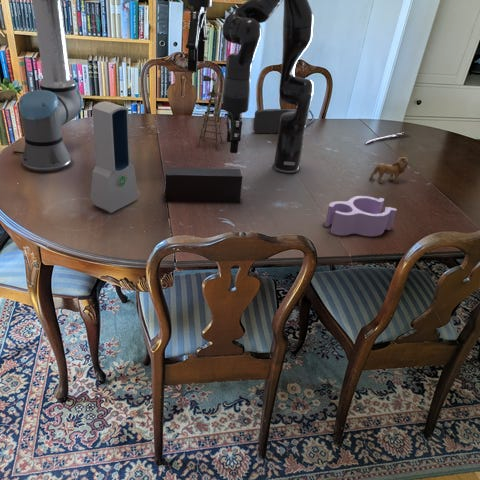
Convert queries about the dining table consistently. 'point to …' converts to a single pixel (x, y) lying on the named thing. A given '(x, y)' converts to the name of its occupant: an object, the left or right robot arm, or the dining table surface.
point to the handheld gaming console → (268, 120)
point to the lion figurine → (391, 169)
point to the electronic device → (112, 158)
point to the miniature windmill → (212, 94)
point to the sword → (384, 137)
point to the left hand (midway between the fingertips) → (196, 66)
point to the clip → (359, 216)
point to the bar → (203, 185)
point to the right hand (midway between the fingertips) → (231, 147)
